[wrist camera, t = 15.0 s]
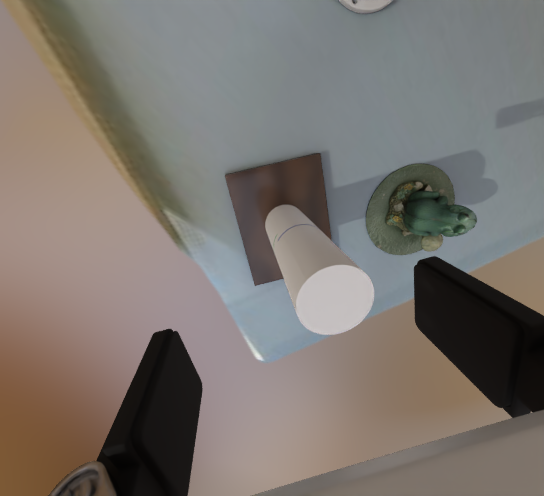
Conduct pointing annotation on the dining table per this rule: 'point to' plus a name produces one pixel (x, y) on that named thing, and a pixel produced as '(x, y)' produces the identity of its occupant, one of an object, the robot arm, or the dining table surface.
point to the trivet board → (272, 193)
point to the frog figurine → (415, 211)
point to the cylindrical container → (318, 274)
